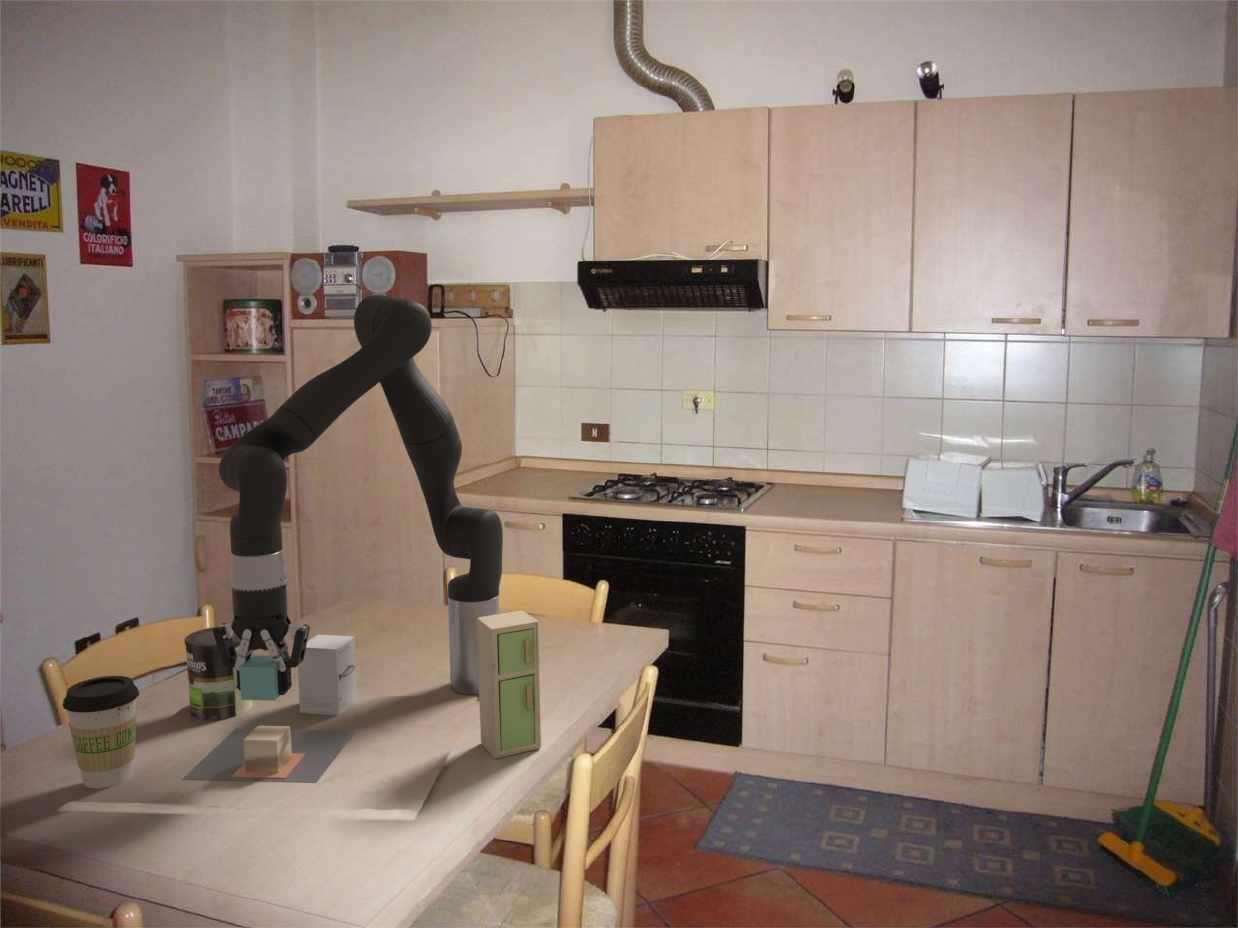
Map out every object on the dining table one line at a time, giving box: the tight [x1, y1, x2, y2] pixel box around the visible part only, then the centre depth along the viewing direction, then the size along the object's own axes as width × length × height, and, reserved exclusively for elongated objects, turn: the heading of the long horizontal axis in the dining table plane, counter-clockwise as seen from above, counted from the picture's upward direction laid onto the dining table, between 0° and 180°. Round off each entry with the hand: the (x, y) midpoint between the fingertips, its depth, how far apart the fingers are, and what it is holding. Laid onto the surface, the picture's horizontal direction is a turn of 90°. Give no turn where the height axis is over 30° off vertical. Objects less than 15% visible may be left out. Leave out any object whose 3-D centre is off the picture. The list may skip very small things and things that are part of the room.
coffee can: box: [184, 626, 254, 721], centre depth 169 cm, size 10×10×14 cm
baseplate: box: [181, 727, 357, 784], centre depth 152 cm, size 20×18×1 cm
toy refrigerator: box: [477, 610, 542, 760], centre depth 155 cm, size 8×7×21 cm
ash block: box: [244, 725, 292, 773], centre depth 148 cm, size 5×5×5 cm
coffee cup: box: [62, 675, 140, 789], centre depth 143 cm, size 10×10×15 cm
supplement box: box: [297, 634, 358, 716], centre depth 170 cm, size 7×7×13 cm
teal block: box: [239, 654, 281, 702], centre depth 146 cm, size 5×5×5 cm
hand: (265, 692), depth 146 cm, fingers closed on teal block, 5 cm apart
